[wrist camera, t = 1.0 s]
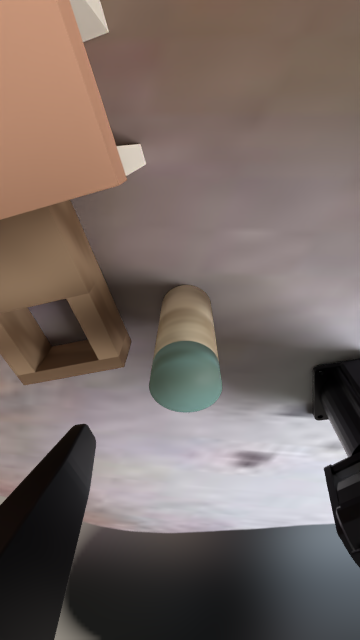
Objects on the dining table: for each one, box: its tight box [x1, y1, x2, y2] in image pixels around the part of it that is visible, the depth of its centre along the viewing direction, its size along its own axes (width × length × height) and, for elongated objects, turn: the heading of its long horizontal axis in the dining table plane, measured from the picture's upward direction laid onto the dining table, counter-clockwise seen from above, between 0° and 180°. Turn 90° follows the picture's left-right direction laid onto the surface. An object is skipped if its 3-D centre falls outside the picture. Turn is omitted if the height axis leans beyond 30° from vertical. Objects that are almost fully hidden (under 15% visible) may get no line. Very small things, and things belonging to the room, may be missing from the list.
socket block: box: [0, 200, 131, 385], centre depth 18 cm, size 16×8×3 cm, turn 14°
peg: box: [149, 285, 222, 412], centre depth 17 cm, size 4×4×8 cm
